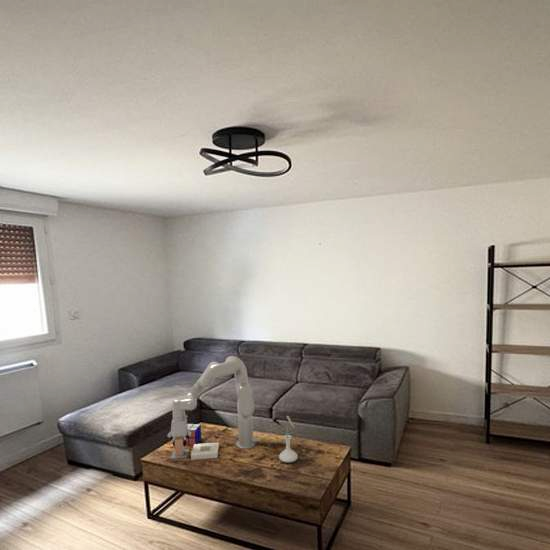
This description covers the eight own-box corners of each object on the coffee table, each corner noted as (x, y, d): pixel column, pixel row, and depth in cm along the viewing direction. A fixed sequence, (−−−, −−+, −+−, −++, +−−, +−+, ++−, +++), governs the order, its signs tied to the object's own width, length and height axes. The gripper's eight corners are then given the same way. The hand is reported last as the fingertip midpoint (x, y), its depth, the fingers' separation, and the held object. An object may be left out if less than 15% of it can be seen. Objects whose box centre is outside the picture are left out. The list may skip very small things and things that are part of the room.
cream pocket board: (218, 446, 230) (218, 442, 230) (217, 457, 216) (217, 452, 216) (194, 448, 229) (193, 444, 229) (191, 459, 215) (190, 455, 215)
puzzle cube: (195, 445, 234) (195, 430, 234) (181, 444, 235) (181, 429, 235) (201, 438, 243) (201, 424, 243) (187, 437, 245) (187, 423, 245)
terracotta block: (184, 451, 225) (183, 435, 225) (183, 455, 220) (182, 439, 220) (176, 451, 224) (176, 436, 224) (175, 455, 219) (174, 439, 219)
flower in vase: (296, 465, 205) (295, 422, 205) (277, 463, 207) (276, 421, 207) (299, 453, 218) (298, 413, 218) (281, 452, 220) (280, 413, 220)
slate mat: (189, 449, 227) (189, 449, 227) (186, 457, 217) (186, 456, 217) (173, 451, 226) (173, 450, 226) (170, 459, 216) (170, 458, 216)
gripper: (193, 414, 227) (194, 442, 227) (166, 416, 225) (167, 444, 225) (191, 419, 219) (192, 447, 219) (163, 421, 217) (164, 450, 217)
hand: (179, 445), depth 222 cm, fingers open, 5 cm apart
